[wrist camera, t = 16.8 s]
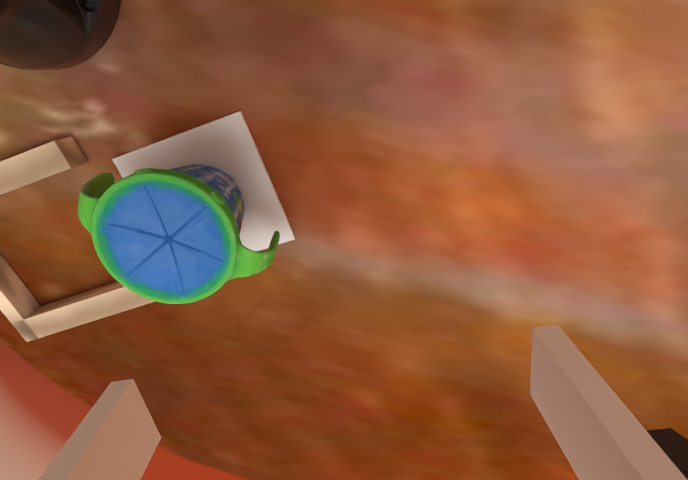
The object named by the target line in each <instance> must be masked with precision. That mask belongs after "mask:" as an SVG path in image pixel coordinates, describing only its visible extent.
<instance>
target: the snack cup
mask: <svg viewBox="0 0 688 480" xmlns="http://www.w3.org/2000/svg"><path fill="white" fill-rule="evenodd" d="M78 201H79V203H78V217H79V220H80V222H81V223H82V225H83V226H84V227H85V228H86V229H87V230H88V231H89V232H90V233H91V234H92V239H93V244H94V247H95V250H96V252H97V255H98V257H99V259H100V260H101V262H102V264H103V265H104V266H105V268H106V269H107V270H108V272H109V273H110V274H111V275H112V276H113V277H114V278H115V279H116V280H117V281H118V282H119V283H120V284H122V285H123V286H125V287H126V288H127V289H129V290H130V291H132V292H134V293H136V294H137V295H139V296H142V297H144V298H147V299H149V300H153V301H157V302H162V303H169V304H183V303H192V302H195V301H198V300H201V299H204V298H206V297H208V296H210V295H211V294H213V293H214V292H216V291H217V290H218V289H219V288H221V287H222V285H223V284H224V283H225V282H226V281H228V280H229V279H234V278H239V277H246V276H247V277H249V276H250V275H252V274H256V273H259V272H261V271H263V270H264V269H266V268H267V267H268V266H269V265H270V264H271V263H272V261H273V258H274V254H275V252H276V249H277V246H278V243H279V239H280V233H279V231H275V232H274V234H273V236H272V239H271V242H270V245H269V248H268V251H253V250H251V249H248V248H247V247H245V246H243V245H242V243H241V240H240V231H241V227H242V222H243V218H244V212H245V207H244V201H243V196H242V194H241V191H240V189H239V188H238V186H237V185H236V182H235V180H234V179H233V178H232V177H231V176H230V175H228V174H226V173H224V172H223V171H221V170H219V169H217V168H214V167H211V166H207V165H203V164H193V165H186V166H181V167H176V168H172V169H155V168H145V169H139V170H135V172H134V173H133V174H131V175H129V176H126V177H124V178H123V179H121V180H119V181H118V182H116V183H114V177H113V175H112V174H111V173H102V174H99V175H97V176H96V177H94V178H93V179H91V180H90V181H89V182H87V183H86V184H85V185H84V186H83V187H82V189H81V191H80V195H79V200H78Z"/></svg>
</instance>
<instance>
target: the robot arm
mask: <svg viewBox="0 0 688 480" xmlns="http://www.w3.org/2000/svg"><path fill="white" fill-rule="evenodd" d="M119 3H120V0H0V64H3V65H6V66H10V67H15V68H20V69H30V70H55V69H63V68H68V67H72V66H74V65H77V64H79V63H81V62H83V61H85V60H87V59H88V58H90V57H91V56H92V55H94V54H95V53H96V52H97V51H98V50H99V49H100V48H101V47H102V45H103V44H104V43H105V41H106V40H107V38H108V37H109V35H110V33H111V31H112V29H113V27H114V24H115V21H116V18H117V14H118V10H119ZM530 395H531V397H532V398H533V400H534V402H535V404H536V405H537V407H538V409H539V411H540V412H541V414H542V416H543V418H544V419H545V421H546V423H547V424H548V426H549V428H550V430H551V431H552V433H553V435H554V437H555V438H556V440H557V442H558V444H559V445H560V447H561V449H562V451H563V452H564V454H565V456H566V458H567V459H568V461H569V463H570V465H571V466H572V468H573V470H574V472H575V473H576V475H577V477H578V479H579V480H688V440H687V439H686V438H684V437H683V436H681V435H680V434H679V433H677V432H676V431H674V430H673V429H671V428H668V429H658V430H649V431H646V430H645V429H644V427H643V426H642V425H641V424H640V423H639V421H638V420H637V419H636V418H635V417H634V415H633V414H632V413H631V412H630V411H629V410H628V408H627V407H626V406H625V405H624V404H623V402H622V401H621V400H620V399H619V398H618V396H617V395H616V394H615V393H614V392H613V390H612V389H611V388H610V387H609V386H608V384H607V383H606V382H605V381H604V380H603V378H602V377H601V376H600V375H599V374H598V373H597V371H596V370H595V369H594V368H593V367H592V365H591V364H590V363H589V362H588V361H587V359H586V358H585V357H584V356H583V355H582V353H581V352H580V351H579V350H578V349H577V347H576V346H575V345H574V344H573V343H572V341H571V340H570V339H569V338H568V337H567V335H566V334H565V333H564V332H563V331H562V330H561V328H560V327H559V326H558V325H552V326H544V327H536V328H533V330H532V356H531V383H530ZM160 439H161V436H160V434H159V432H158V430H157V428H156V426H155V424H154V421H153V419H152V417H151V415H150V413H149V411H148V409H147V407H146V405H145V403H144V401H143V399H142V396H141V394H140V392H139V390H138V388H137V386H136V384H135V382H134V380H133V379H130V380H122V381H115V382H111V383H110V385H109V386H108V387H107V389H106V390H105V391H104V393H103V394H102V395H101V397H100V398H99V399H98V401H97V402H96V403H95V405H94V406H93V407H92V409H91V410H90V412H89V413H88V414H87V416H86V417H85V418H84V420H83V421H82V422H81V423H80V425H79V426H78V427H77V429H76V430H75V432H74V433H73V434H72V436H71V437H70V438H69V440H68V441H67V442H66V444H65V445H64V447H63V448H62V449H61V450H60V452H59V453H58V454H57V456H56V457H55V459H54V460H53V461H52V462H51V464H50V465H49V466H48V468H47V469H46V470H45V472H44V473H43V475H42V476H41V477H40V479H39V480H140V479H141V477H142V475H143V473H144V471H145V469H146V467H147V465H148V463H149V461H150V459H151V457H152V455H153V453H154V451H155V449H156V447H157V445H158V443H159V441H160Z"/></svg>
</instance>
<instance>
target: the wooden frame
mask: <svg viewBox="0 0 688 480" xmlns="http://www.w3.org/2000/svg"><path fill="white" fill-rule="evenodd" d="M87 162H88V161H87V159H86V158H85V156H84V154H83V153H82V151H81V149H80V148H79V146H78V144H77V143H76V141H75V139H74V138H73V136H71V137H67V138H63V139H59V140H55V141H52V142H49V143H47V144H44V145H42V146H39V147H37V148H34V149H32V150H29V151H26V152H24V153H21V154H19V155H16V156H14V157H11V158H9V159H6V160H3V161H1V162H0V195H2V194H5V193H7V192H10V191H13V190H15V189H18V188H20V187H23V186H26V185H28V184H31V183H34V182H36V181H39V180H42V179H44V178H47V177H50V176H52V175H55V174H58V173H60V172H63V171H65V170H68V169H71V168H73V167H76V166H79V165H81V164H84V163H87ZM151 302H155V301H153V300H149V299H147V298H144V297H142V296H139V295H137V294H136V293H134V292H132V291H130V290H129V289H127V288H126V287H125V286H123V285H122V284H120V283H119V282H118V281H116V282H113V283H110V284H107V285H104V286H101V287H98V288H95V289H92V290H89V291H86V292H83V293H80V294H77V295H74V296H71V297H68V298H65V299H62V300H58V301H55V302H52V303H49V304H46V305H43V306H40V305H39V303H38V302H37V301H36V300H35V298H34V297H33V296H32V294H31V293H30V292H29V290H28V289H27V288H26V286H25V285H24V284H23V283H22V281H21V280H20V279H19V277H18V276H17V275H16V273H15V272H14V271H13V270H12V268H11V267H10V266H9V264H8V263H7V262H6V260H5V259H4V258H3V256H2V255H1V254H0V310H1V311H2V312H3V314H4V315H5V316H6V317H7V318H8V320H9V321H10V322H11V323H12V325H13V326H14V327H15V328H16V329H17V331H18V332H19V333H20V334H21V336H22V337H23V338H24V339H25V340H26V342H28V341H31V340H34V339H38V338H41V337H44V336H47V335H50V334H53V333H57V332H60V331H63V330H66V329H69V328H72V327H76V326H79V325H82V324H85V323H88V322H91V321H95V320H98V319H101V318H104V317H107V316H110V315H114V314H117V313H120V312H123V311H126V310H129V309H133V308H136V307H139V306H142V305H145V304H148V303H151Z"/></svg>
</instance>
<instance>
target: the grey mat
mask: <svg viewBox="0 0 688 480" xmlns="http://www.w3.org/2000/svg"><path fill="white" fill-rule="evenodd" d="M112 160H113V162H114V164H115V165H116V167H117V169H118V170H119V172H120V174H121V176H122V177H123V178H124V177H126V176H129V175H131V174H133V173H134V172H135V170H139V169H145V168H155V169H172V168H176V167H181V166H186V165H193V164H203V165H207V166H211V167H214V168H217V169H219V170H221V171H223V172H224V173H226V174H228V175H230V176H231V177H232V178H233V179H234V180H235V182H236V185H237V186H238V188H239V189H240V191H241V194H242V196H243V201H244V207H245V212H244V218H243V222H242V227H241V231H240V240H241V243H242V245H243V246H245V247H247V248H248V249H251V250H253V251H260V250H263V249H266V248H269V245H270V242H271V239H272V236H273V234H274V232H275V231H279V233H280V239H279V243H278V244H281V243H284V242H288V241H291V240H294V239H295V235H294V233H293V231H292V228H291V226H290V224H289V221H288V219H287V217H286V214H285V212H284V210H283V207H282V205H281V203H280V200H279V198H278V196H277V193H276V191H275V189H274V186H273V184H272V182H271V179H270V177H269V175H268V172H267V170H266V168H265V165H264V163H263V161H262V158H261V156H260V154H259V151H258V149H257V147H256V144H255V142H254V140H253V137H252V135H251V133H250V130H249V128H248V126H247V123H246V121H245V119H244V116H243V114H242V112H241V111H239V112H236V113H234V114H231V115H228V116H226V117H223V118H220V119H218V120H215V121H212V122H210V123H207V124H204V125H202V126H199V127H196V128H194V129H191V130H188V131H186V132H183V133H180V134H178V135H175V136H172V137H170V138H167V139H164V140H162V141H159V142H156V143H154V144H151V145H148V146H146V147H143V148H140V149H138V150H135V151H132V152H130V153H127V154H124V155H122V156H119V157H116V158H114V159H112Z"/></svg>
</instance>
